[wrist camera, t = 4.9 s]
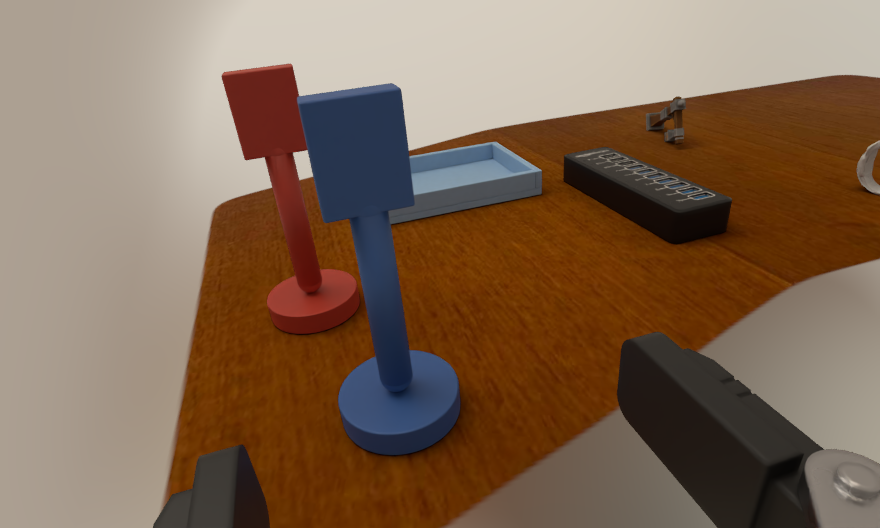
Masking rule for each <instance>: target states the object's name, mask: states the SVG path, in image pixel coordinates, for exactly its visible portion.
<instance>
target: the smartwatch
mask: <svg viewBox="0 0 880 528" xmlns="http://www.w3.org/2000/svg"><path fill="white" fill-rule="evenodd" d="M879 149H880V141H878V142H876V143H874V144H872V145H870V146H869V147H868V148H867V151H866V152H865V153H864V154H863V155H862V157H861V158H860V160H859V162H858V165H857V176H858V179H859V181H860V182H861V184H862V185H863V186H864V187H865V188H866V189H868V190H869V191H870V192H872V193H874V194H877V195H880V186H879V185H878V184H877V183H876V182H875V181H874V180H873V177H872V170H873V162H874V159H875V157H876V155H877V152H878V150H879Z"/></svg>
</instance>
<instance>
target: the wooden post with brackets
mask: <svg viewBox="0 0 880 528" xmlns="http://www.w3.org/2000/svg"><path fill="white" fill-rule="evenodd" d="M685 104H686V102H685V99H681V97H675V98H674V99H673V102H672V103H670V106H669V107H666V108H664V110H662V111H660V113H649V114H646V124H647V130H659V129H663V128H664V122H665V121H666V120H670V119H671V118H673V120H674V123H675V129H674V130H668V132H665V142H667V141H674V140H675V144H682V143H684V141H683V139H684V137H683V135H684V128H683V122H682V110H683V109H686V106H685Z"/></svg>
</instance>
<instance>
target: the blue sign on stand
mask: <svg viewBox="0 0 880 528" xmlns="http://www.w3.org/2000/svg"><path fill="white" fill-rule="evenodd" d="M297 103H298V108H299V113H300V117H301V122H302V126H303V131H304V136H305V140H306V145H307V149H308V154H309V158H310V163H311V168H312V172H313V177H314V181H315V186H316V191H317V195H318V200H319V204H320V209H321V213H322V217H323V221H324V222H325V223H329V222H334V221H339V220H344V219H350V224H351V229H352V235H353V240H354V245H355V250H356V256H357V261H358V266H359V271H360V277H361V282H362V287H363V292H364V298H365V303H366V308H367V313H368V319H369V324H370V329H371V334H372V340H373V345H374V350H375V355H376V357H374V358H371V359H369V360H367V361H366V362H364V363H362V364H361V365H359V366H358V367H357V368H355V369H354V370H353V371H352V372H351V373H350V374H349V375H348V377H347V378H346V379H345V381H344V382H343V384H342V386H341V389H340V392H339V397H338V404H339V409H340V413H341V417H342V421H343V425H344V429H345V431H346V433H347V434H348V436H349V437H350V439H351V440H352V441H354V442H355V443H356V444H357V445H359V446H360V447H361V448H363V449H366V450H368V451H370V452H374V453H378V454H383V455H402V454H409V453H413V452H417V451H419V450H422V449H425V448H427V447H429V446H431V445H433V444H434V443H436V442H438V441H439V440H440V439H442V438H443V437H444V436H445V435H446V434H447V433H448V432H449V431H450V430H451V428H452V427H453V426H454V424H455V422H456V420H457V418H458V416H459V412H460V392H459V383H458V378H457V375H456V373H455V371H454V370H453V368H452V367H451V366H450V365H449V364H448V363H447V362H446V361H445V360H443V359H441V358H440V357H438V356H436V355H433V354H430V353H427V352H422V351H415V350H409V345H408V338H407V332H406V325H405V318H404V312H403V305H402V298H401V292H400V285H399V278H398V272H397V265H396V258H395V252H394V245H393V238H392V232H391V225H390V218H389V212H388V211H390V210H395V209H401V208H406V207H411V206H414V205H415V200H414V191H413V183H412V175H411V167H410V159H409V151H408V143H407V134H406V126H405V119H404V110H403V101H402V94H401V89H400V88H399V87H397V86H396V85H394V84H392V83H390V84H383V85H376V86H369V87H362V88H355V89H349V90H341V91H334V92H327V93H320V94H313V95H306V96H299V97H297Z"/></svg>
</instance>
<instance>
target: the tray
mask: <svg viewBox="0 0 880 528" xmlns="http://www.w3.org/2000/svg"><path fill="white" fill-rule="evenodd" d="M409 159H410V167H411V175H412V183H413V191H414V200H415V205H414V206H411V207H406V208H401V209H395V210H390V211H388V212H389V218H390V224H395V223H400V222H405V221H410V220H415V219H420V218H425V217H430V216H435V215H440V214H445V213H450V212H455V211H460V210H465V209H470V208H475V207H480V206H485V205H490V204H495V203H500V202H505V201H510V200H515V199H520V198H525V197H530V196H535V195H540V194H542V188H541V187H542V170H540V169H538V168H537V167H535V166H534V165H532V164H530V163H529V162H527V161H526V160H524V159H522V158H521V157H519V156H518V155H516V154H514V153H513V152H511V151H510V150H508V149H506V148H505V147H503V146H502V145H500V144H498V143H497V142H491V143H485V144H479V145H473V146H467V147H462V148H456V149H450V150H444V151H439V152H433V153H427V154H421V155H415V156H410V157H409Z"/></svg>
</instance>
